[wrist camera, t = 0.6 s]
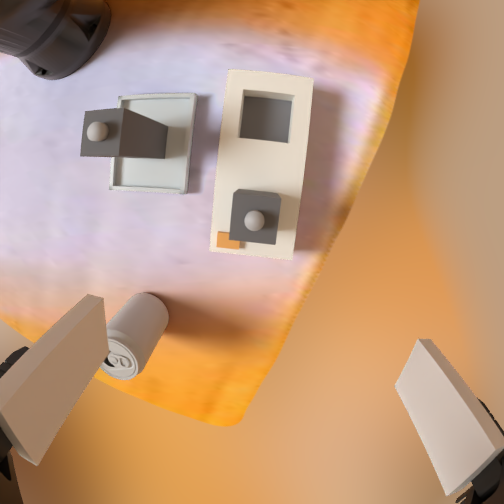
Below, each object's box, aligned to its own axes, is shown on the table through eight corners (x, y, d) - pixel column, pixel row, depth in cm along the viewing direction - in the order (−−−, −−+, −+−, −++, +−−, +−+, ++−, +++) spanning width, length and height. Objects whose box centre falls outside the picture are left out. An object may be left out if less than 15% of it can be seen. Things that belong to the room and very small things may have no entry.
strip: (232, 79, 30) (219, 43, 19) (307, 88, 30) (327, 55, 19) (214, 242, 35) (195, 273, 25) (288, 250, 35) (300, 284, 25)
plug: (138, 126, 31) (79, 109, 18) (168, 126, 31) (118, 105, 18) (134, 158, 32) (73, 156, 19) (164, 158, 32) (112, 155, 19)
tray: (123, 98, 30) (118, 96, 29) (197, 96, 30) (195, 93, 29) (114, 188, 34) (109, 189, 32) (187, 193, 34) (184, 194, 32)
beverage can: (126, 288, 37) (83, 331, 26) (168, 292, 37) (135, 340, 26) (132, 328, 39) (96, 377, 28) (172, 333, 39) (145, 387, 27)
